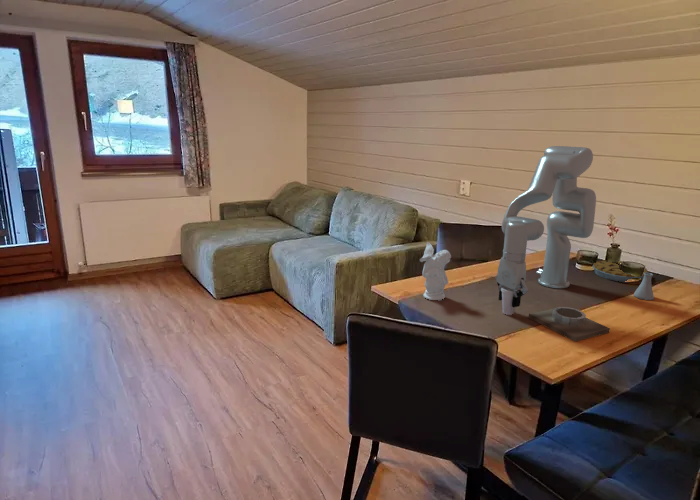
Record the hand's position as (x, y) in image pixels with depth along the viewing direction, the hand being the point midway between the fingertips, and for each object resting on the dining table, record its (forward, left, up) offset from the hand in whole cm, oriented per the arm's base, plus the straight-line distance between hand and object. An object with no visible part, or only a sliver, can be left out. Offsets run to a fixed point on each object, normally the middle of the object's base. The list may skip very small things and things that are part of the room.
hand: (509, 302), depth 167 cm
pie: (-12, +76, -5) cm, 77 cm away
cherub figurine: (-24, -18, -4) cm, 30 cm away
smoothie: (0, 0, -4) cm, 4 cm away
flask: (+10, +61, -4) cm, 62 cm away
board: (+16, +12, -4) cm, 20 cm away
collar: (+16, +12, -3) cm, 20 cm away
